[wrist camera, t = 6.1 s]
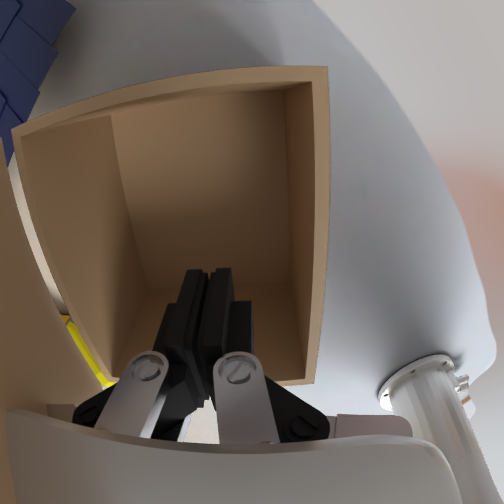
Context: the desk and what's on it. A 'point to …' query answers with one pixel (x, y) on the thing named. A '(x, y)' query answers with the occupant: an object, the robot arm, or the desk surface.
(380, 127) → the desk surface
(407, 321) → the desk surface
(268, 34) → the desk surface
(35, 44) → the folded navy cloth
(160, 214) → the carton
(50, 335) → the flap
